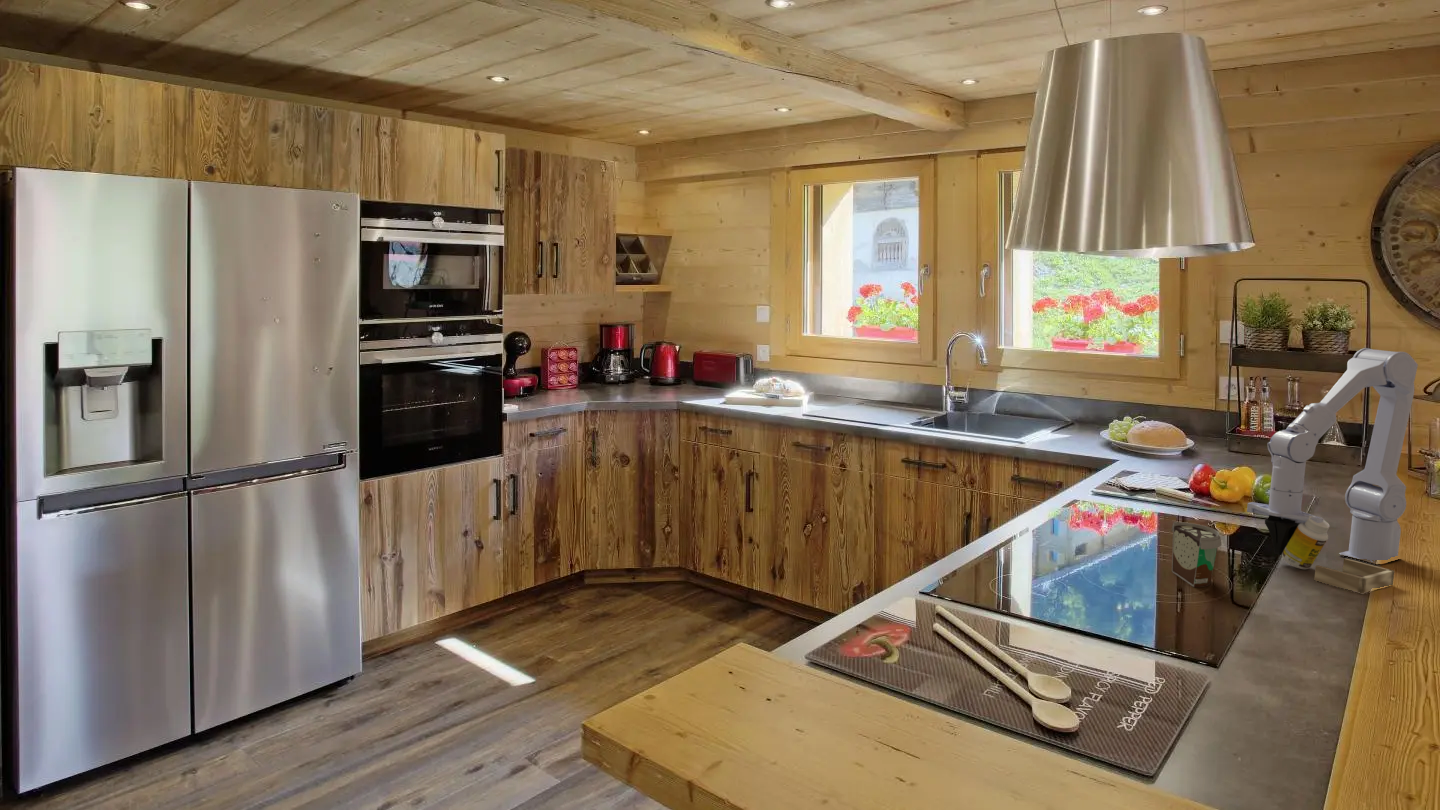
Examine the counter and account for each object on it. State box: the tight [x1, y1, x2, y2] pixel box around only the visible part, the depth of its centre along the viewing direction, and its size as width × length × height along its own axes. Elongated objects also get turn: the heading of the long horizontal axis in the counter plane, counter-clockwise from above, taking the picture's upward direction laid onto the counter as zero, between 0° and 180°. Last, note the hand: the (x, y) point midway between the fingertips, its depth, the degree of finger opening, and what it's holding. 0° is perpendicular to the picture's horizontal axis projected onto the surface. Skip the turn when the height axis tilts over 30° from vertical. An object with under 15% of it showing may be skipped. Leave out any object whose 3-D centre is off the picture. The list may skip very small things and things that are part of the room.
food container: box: [1171, 521, 1222, 588], centre depth 184 cm, size 12×6×10 cm, turn 179°
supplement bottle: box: [1281, 515, 1330, 570], centre depth 191 cm, size 6×6×10 cm
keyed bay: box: [1313, 557, 1395, 593], centre depth 183 cm, size 11×9×3 cm
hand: (1280, 553), depth 196 cm, fingers closed
